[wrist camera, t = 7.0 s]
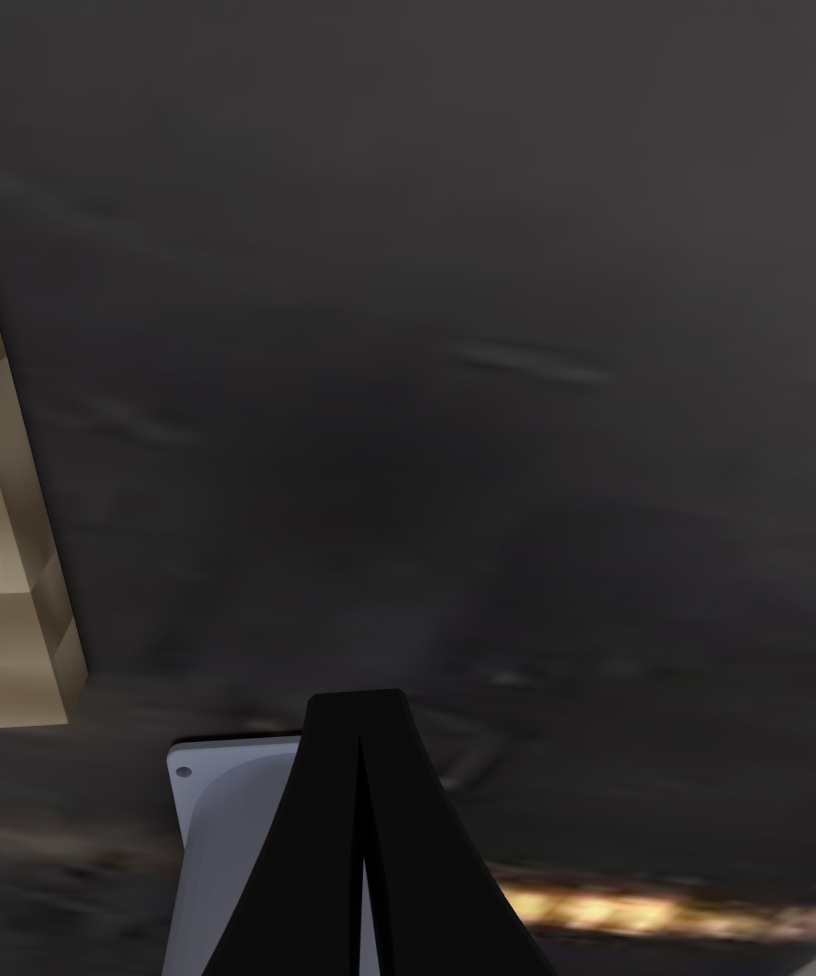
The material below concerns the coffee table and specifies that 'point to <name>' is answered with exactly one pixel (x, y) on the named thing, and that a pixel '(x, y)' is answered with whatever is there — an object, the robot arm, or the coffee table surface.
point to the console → (31, 588)
